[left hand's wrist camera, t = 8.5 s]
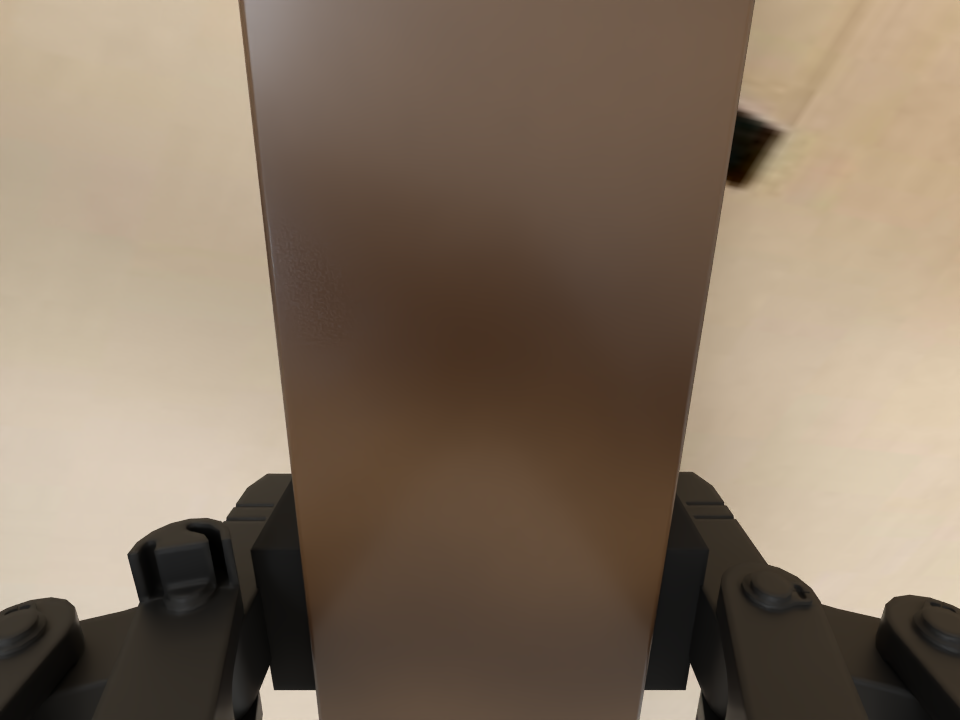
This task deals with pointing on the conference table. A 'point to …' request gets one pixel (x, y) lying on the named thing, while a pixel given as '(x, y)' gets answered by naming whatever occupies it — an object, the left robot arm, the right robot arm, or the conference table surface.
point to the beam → (488, 331)
